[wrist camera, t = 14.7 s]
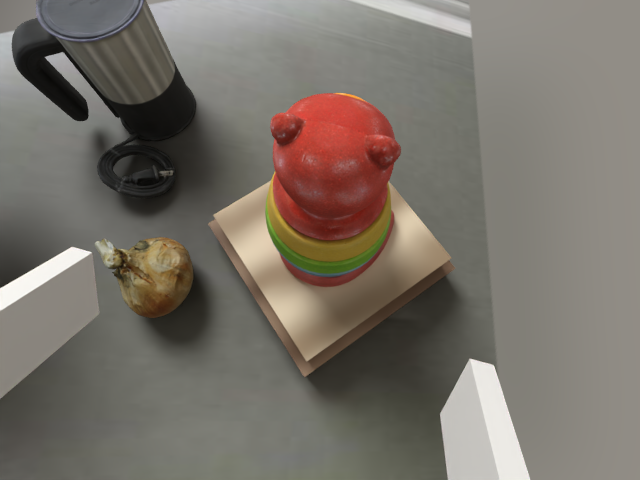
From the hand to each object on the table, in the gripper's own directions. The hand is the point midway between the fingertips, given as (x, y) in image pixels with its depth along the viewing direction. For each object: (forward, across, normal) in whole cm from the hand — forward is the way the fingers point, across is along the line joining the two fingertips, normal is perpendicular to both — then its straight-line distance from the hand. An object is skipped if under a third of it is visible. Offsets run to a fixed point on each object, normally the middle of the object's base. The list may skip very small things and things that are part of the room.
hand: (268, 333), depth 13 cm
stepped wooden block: (+25, 0, -11) cm, 28 cm away
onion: (+20, -16, -16) cm, 30 cm away
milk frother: (+32, -24, -5) cm, 40 cm away
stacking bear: (+21, 0, -7) cm, 22 cm away
